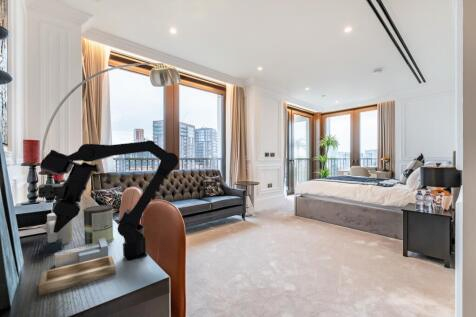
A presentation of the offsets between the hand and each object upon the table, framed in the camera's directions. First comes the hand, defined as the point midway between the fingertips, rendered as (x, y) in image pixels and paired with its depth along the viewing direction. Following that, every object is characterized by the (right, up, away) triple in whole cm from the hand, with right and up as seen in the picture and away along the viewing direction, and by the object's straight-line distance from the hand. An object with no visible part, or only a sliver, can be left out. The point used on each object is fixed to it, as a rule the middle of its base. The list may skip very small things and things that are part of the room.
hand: (56, 227), depth 72 cm
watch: (-12, -13, +14) cm, 23 cm away
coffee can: (0, -13, +22) cm, 25 cm away
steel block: (+4, -13, +4) cm, 14 cm away
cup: (-16, -13, +22) cm, 30 cm away
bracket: (+6, -13, +6) cm, 15 cm away
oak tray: (+12, -12, -7) cm, 19 cm away
